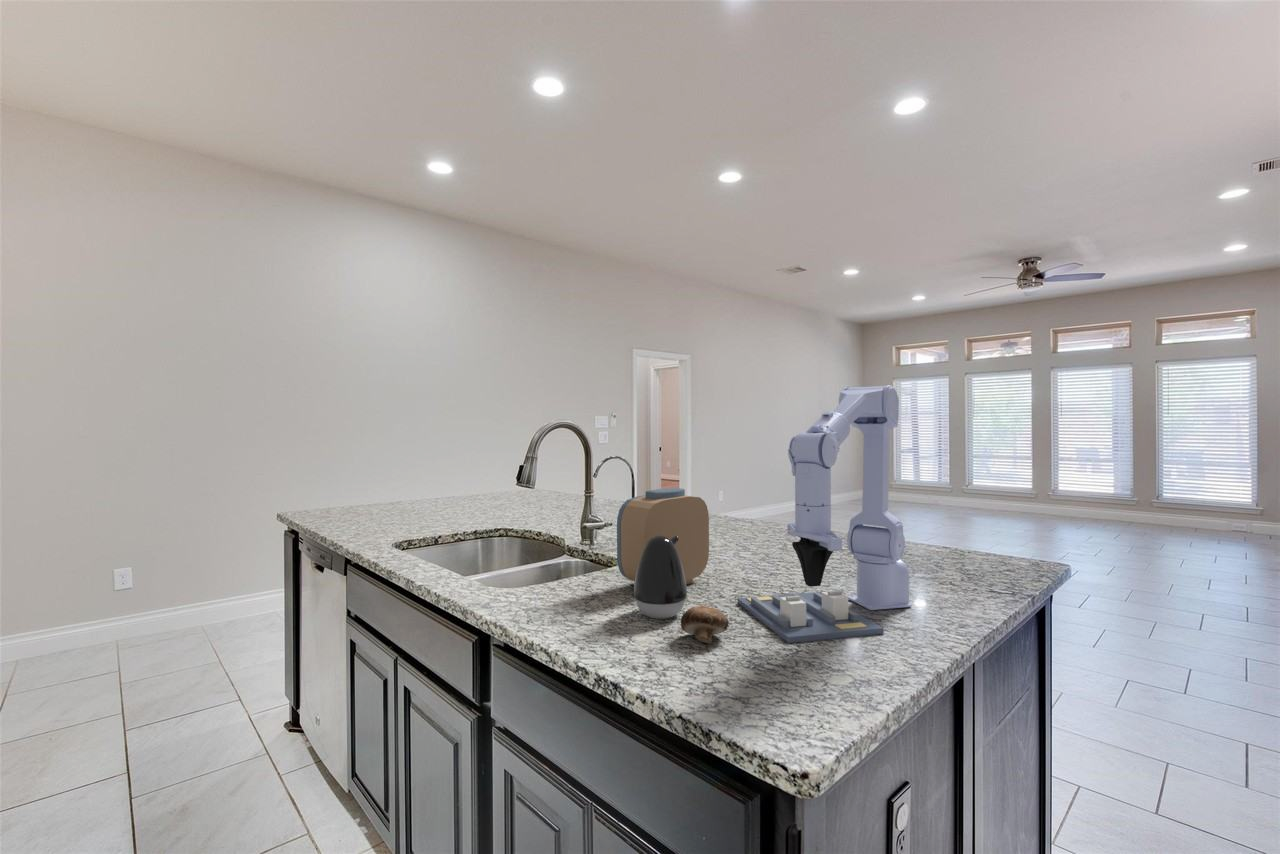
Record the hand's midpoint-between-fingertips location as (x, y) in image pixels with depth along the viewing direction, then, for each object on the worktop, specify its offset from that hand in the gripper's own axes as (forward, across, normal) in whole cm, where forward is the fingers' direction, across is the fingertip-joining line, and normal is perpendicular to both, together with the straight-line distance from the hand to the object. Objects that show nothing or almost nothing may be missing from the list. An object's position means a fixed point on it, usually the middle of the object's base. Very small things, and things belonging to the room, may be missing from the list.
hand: (812, 585), depth 97 cm
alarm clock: (+10, -40, -15) cm, 43 cm away
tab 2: (+8, -8, +9) cm, 14 cm away
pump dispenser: (+10, -19, -21) cm, 30 cm away
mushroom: (+10, -6, -17) cm, 21 cm away
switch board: (+10, -12, +5) cm, 16 cm away
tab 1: (+8, -6, 0) cm, 11 cm away
